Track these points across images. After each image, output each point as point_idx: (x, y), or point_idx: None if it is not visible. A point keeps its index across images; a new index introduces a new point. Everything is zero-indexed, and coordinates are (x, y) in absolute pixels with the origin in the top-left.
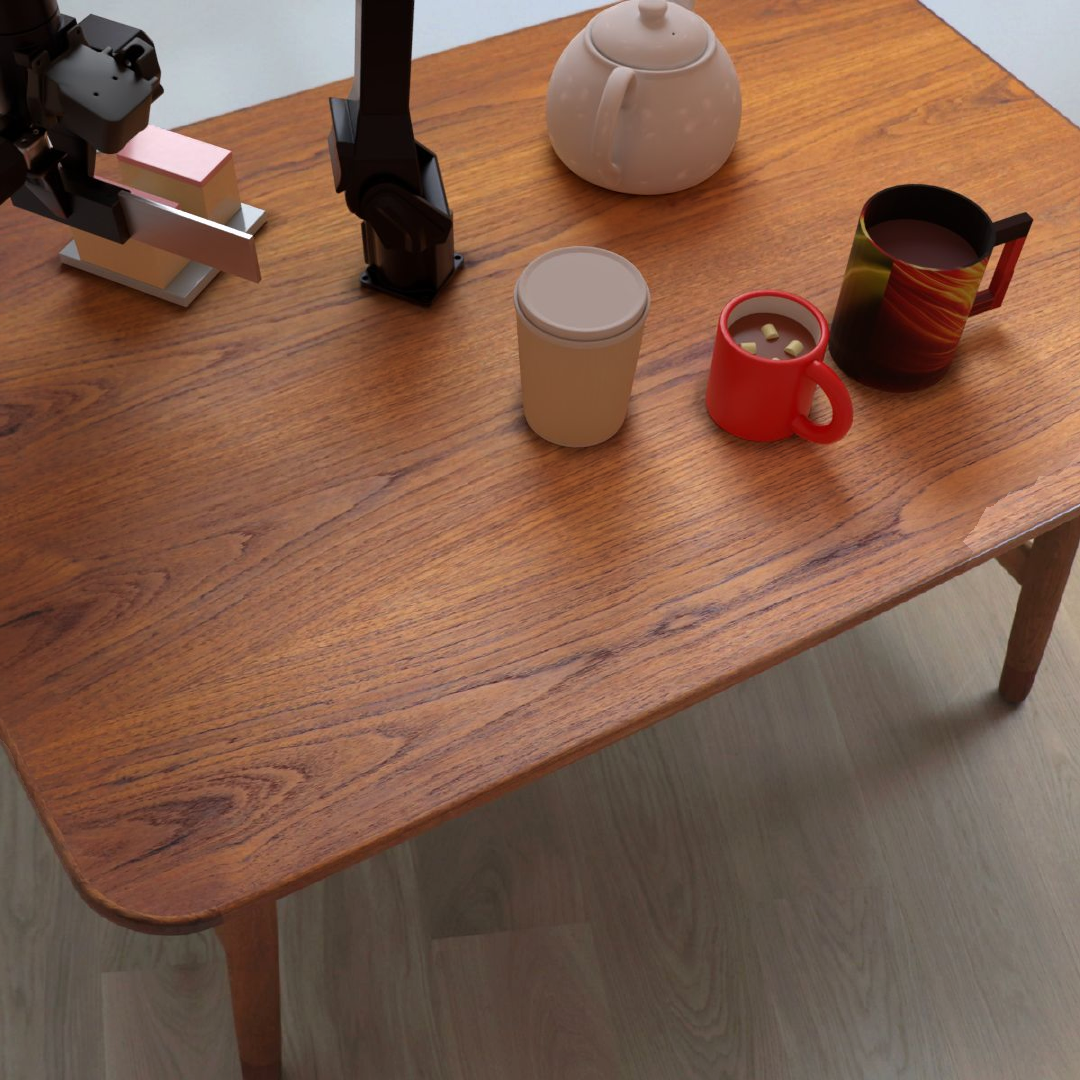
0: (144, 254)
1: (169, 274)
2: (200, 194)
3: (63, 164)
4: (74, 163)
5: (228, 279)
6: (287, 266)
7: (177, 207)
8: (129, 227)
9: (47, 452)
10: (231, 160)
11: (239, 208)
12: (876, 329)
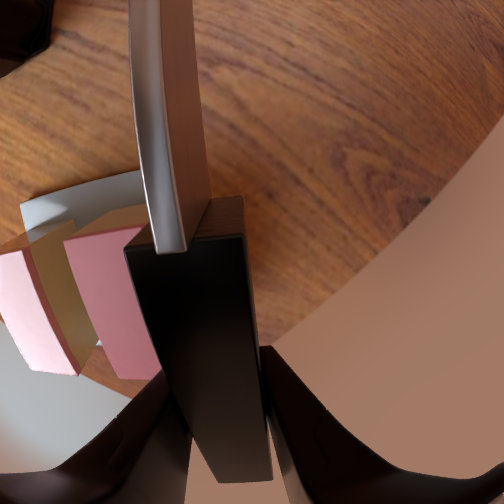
0: None
1: None
2: (37, 245)
3: (189, 442)
4: (174, 434)
5: (106, 159)
6: (58, 124)
7: (69, 238)
8: (206, 197)
9: (434, 151)
10: None
11: (32, 228)
12: None
